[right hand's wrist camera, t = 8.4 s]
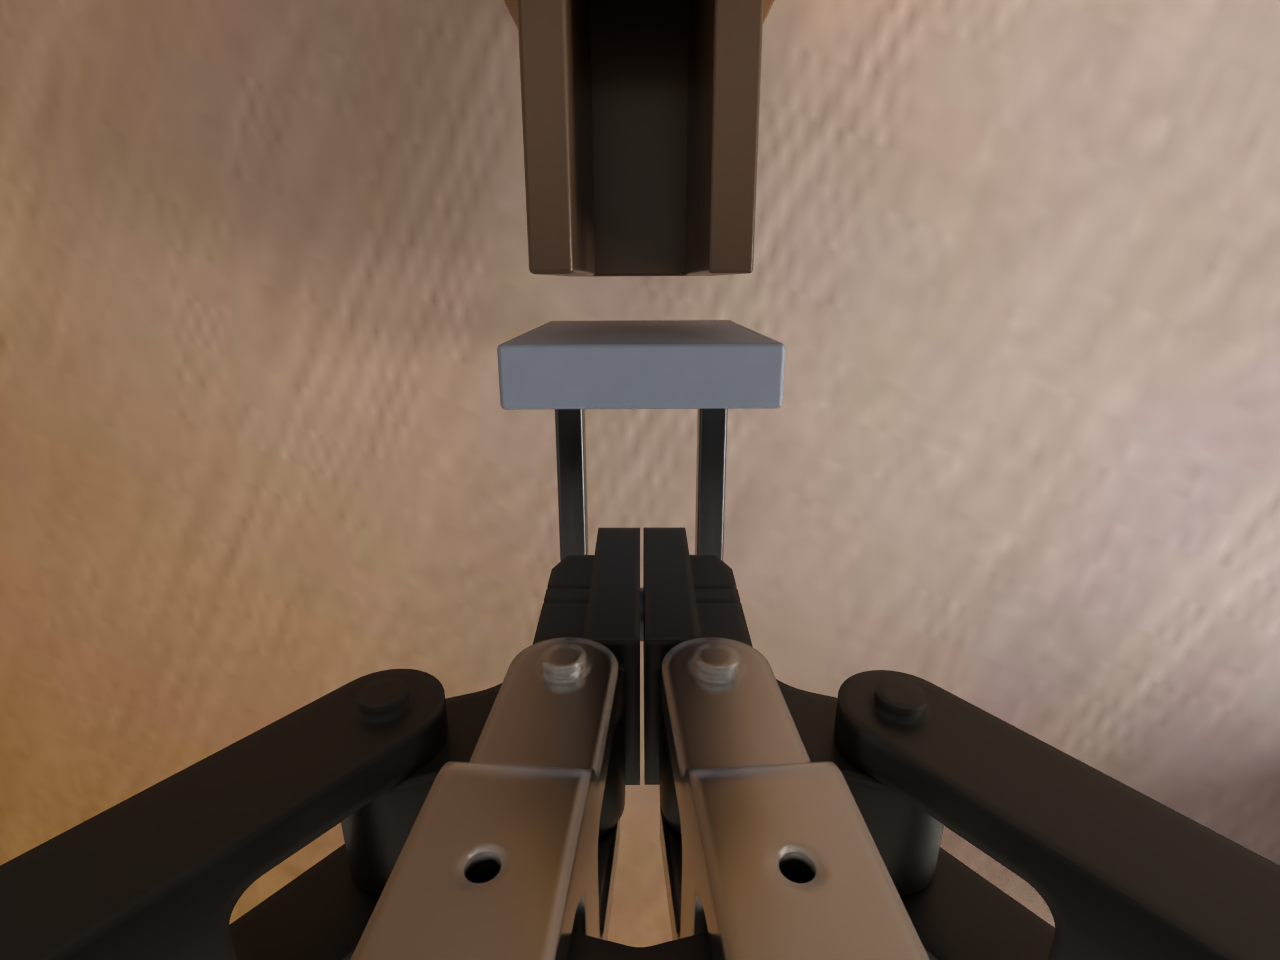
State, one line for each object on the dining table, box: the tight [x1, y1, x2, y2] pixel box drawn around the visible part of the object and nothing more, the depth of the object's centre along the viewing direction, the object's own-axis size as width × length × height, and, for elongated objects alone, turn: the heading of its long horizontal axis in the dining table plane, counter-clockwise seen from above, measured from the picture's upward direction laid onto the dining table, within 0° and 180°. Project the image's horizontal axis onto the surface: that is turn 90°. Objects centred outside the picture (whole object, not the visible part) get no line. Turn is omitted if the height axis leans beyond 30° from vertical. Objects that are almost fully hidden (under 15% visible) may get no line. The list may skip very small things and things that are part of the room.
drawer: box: [497, 0, 785, 641], centre depth 15 cm, size 24×5×8 cm, turn 0°
